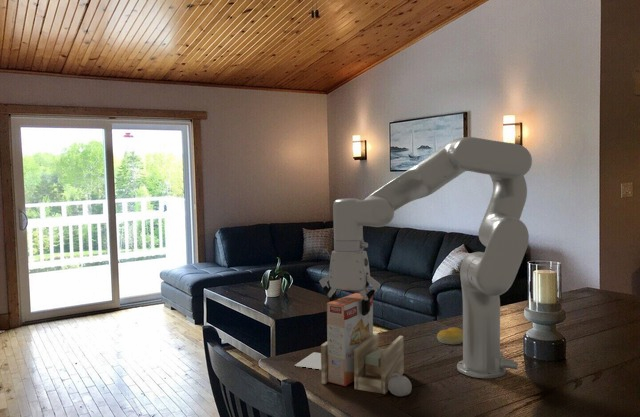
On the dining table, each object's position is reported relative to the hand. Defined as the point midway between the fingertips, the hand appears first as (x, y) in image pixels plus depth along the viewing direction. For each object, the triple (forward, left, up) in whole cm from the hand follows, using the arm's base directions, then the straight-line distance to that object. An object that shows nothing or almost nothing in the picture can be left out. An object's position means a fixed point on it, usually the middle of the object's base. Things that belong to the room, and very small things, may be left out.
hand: (349, 312), depth 146 cm
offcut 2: (-8, 0, -14) cm, 16 cm away
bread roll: (-18, -40, -17) cm, 47 cm away
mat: (+12, -7, -17) cm, 22 cm away
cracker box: (0, 0, -17) cm, 17 cm away
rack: (-4, 0, -17) cm, 17 cm away
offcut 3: (-8, 0, -17) cm, 19 cm away
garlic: (-15, +6, -17) cm, 24 cm away
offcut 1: (-8, 0, -12) cm, 14 cm away
